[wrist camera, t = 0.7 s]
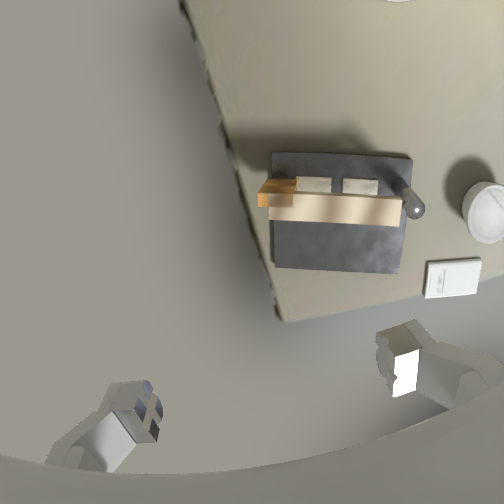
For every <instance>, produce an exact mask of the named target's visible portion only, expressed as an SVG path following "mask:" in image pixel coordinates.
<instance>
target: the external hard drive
mask: <svg viewBox="0 0 504 504" xmlns="http://www.w3.org/2000/svg"><path fill="white" fill-rule="evenodd" d="M481 265H482V260H481V258H478V259H466V260H453V261H439V262H428V267H427V276H426V277H427V280H426V284H425V292H424V298H437V297H449V296H460V295H469V294H476V290H477V286H478V281H479V276H480V271H481Z"/></svg>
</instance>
